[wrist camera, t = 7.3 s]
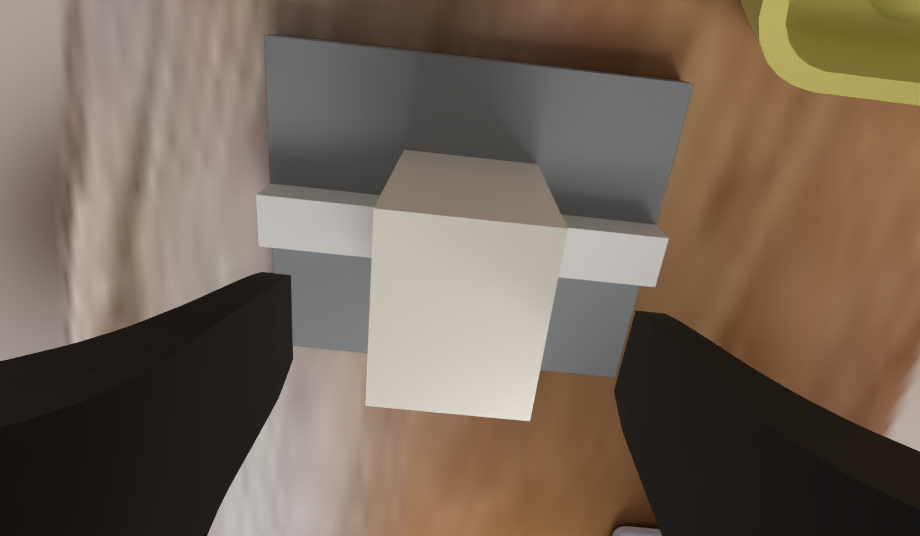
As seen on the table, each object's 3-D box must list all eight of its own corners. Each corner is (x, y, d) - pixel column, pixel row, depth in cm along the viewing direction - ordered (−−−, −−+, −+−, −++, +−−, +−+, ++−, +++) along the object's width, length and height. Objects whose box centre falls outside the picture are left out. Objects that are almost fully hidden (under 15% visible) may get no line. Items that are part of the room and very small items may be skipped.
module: (537, 164, 16) (567, 228, 11) (513, 310, 18) (529, 421, 13) (403, 149, 16) (373, 208, 11) (394, 298, 18) (365, 405, 13)
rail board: (681, 80, 16) (711, 88, 14) (608, 361, 20) (623, 398, 18) (276, 34, 16) (248, 36, 14) (285, 329, 20) (264, 363, 18)
